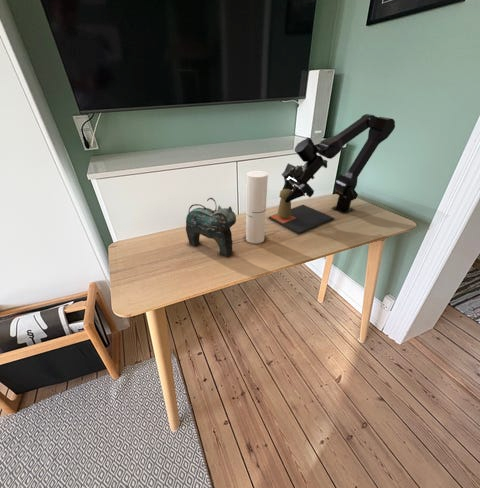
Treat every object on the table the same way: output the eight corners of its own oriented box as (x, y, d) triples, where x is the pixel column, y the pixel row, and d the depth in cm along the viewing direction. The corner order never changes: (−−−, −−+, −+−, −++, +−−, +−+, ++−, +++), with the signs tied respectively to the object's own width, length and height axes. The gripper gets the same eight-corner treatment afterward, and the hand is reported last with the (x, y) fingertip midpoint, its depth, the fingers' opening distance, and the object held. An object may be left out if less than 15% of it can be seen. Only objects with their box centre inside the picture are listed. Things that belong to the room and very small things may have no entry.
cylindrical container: (263, 244, 98) (266, 177, 82) (244, 242, 99) (244, 176, 84) (265, 235, 103) (269, 171, 88) (247, 233, 104) (248, 170, 89)
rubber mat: (302, 206, 125) (303, 204, 124) (333, 219, 113) (333, 217, 113) (268, 218, 115) (269, 216, 114) (298, 234, 103) (298, 232, 103)
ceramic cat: (238, 252, 93) (237, 199, 81) (228, 261, 89) (225, 207, 77) (195, 238, 102) (188, 189, 89) (184, 246, 97) (175, 195, 85)
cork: (286, 218, 109) (289, 193, 102) (274, 215, 112) (276, 190, 106) (293, 213, 113) (296, 189, 106) (281, 210, 116) (283, 186, 109)
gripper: (287, 150, 106) (262, 180, 110) (311, 162, 92) (281, 196, 96) (302, 167, 113) (277, 195, 117) (326, 181, 99) (297, 212, 103)
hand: (282, 199), depth 108 cm, fingers closed on cork, 5 cm apart
